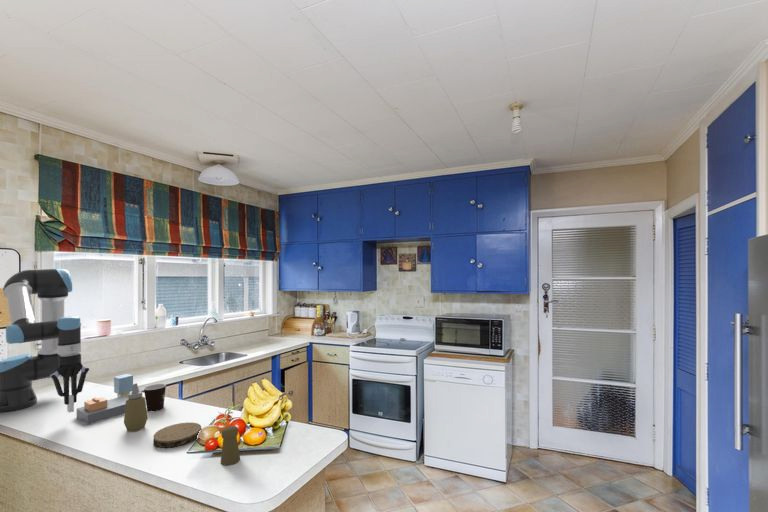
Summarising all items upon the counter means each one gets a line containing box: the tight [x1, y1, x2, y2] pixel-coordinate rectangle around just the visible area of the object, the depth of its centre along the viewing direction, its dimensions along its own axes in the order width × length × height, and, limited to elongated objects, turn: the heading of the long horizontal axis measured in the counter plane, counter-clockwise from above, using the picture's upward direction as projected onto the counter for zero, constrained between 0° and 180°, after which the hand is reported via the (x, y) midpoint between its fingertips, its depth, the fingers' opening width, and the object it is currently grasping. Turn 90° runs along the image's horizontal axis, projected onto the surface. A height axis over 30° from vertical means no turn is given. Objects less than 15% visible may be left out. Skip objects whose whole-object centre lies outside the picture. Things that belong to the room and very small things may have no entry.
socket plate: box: [76, 396, 129, 425], centre depth 172 cm, size 18×13×4 cm
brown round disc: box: [153, 422, 202, 450], centre depth 146 cm, size 16×16×3 cm
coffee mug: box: [143, 383, 167, 412], centre depth 178 cm, size 12×9×10 cm
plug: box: [113, 373, 134, 398], centre depth 190 cm, size 6×6×12 cm
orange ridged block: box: [83, 397, 108, 412], centre depth 169 cm, size 6×6×4 cm
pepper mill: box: [220, 425, 241, 467], centre depth 128 cm, size 6×6×11 cm
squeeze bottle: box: [123, 382, 148, 433], centre depth 156 cm, size 8×8×18 cm
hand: (70, 411), depth 162 cm, fingers closed
